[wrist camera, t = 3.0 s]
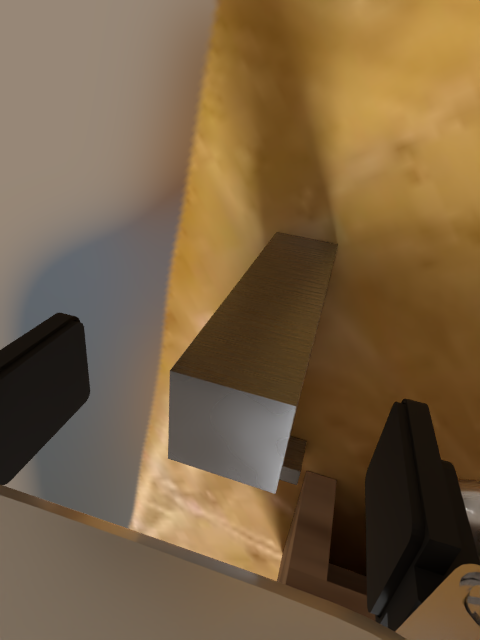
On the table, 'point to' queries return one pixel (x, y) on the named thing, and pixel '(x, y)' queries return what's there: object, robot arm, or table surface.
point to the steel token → (472, 507)
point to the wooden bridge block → (319, 550)
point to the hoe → (252, 369)
